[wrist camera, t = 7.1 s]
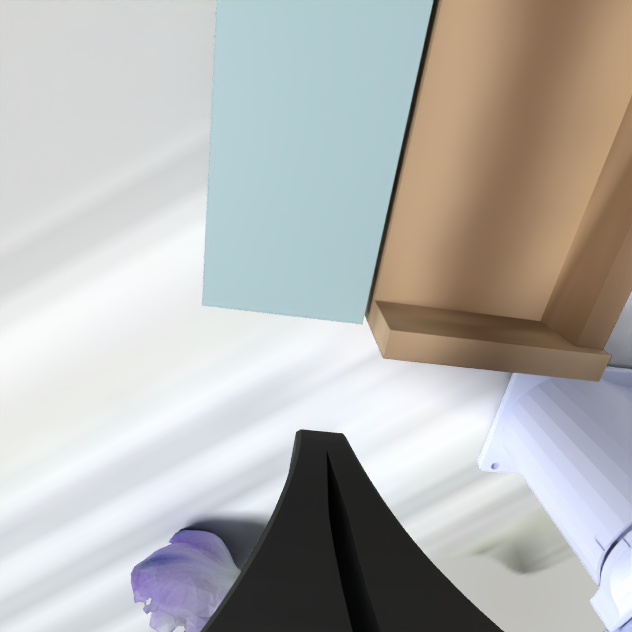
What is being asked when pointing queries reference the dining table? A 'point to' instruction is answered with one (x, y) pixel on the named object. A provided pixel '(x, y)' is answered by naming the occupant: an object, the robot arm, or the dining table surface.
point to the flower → (185, 581)
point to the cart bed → (512, 191)
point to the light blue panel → (305, 150)
